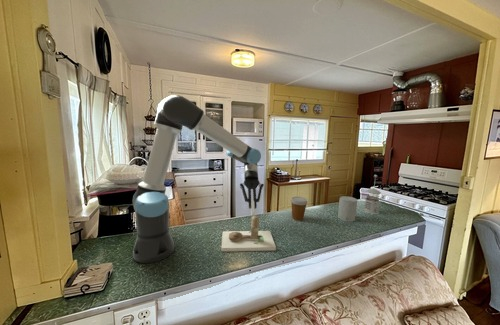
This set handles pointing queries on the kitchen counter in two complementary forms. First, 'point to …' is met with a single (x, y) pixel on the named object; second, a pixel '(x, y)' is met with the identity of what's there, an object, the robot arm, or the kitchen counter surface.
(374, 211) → the french press
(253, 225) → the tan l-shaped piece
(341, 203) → the grey cylinder
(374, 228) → the kitchen counter surface
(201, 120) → the robot arm
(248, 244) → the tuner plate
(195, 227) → the kitchen counter surface
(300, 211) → the disposable coffee cup
